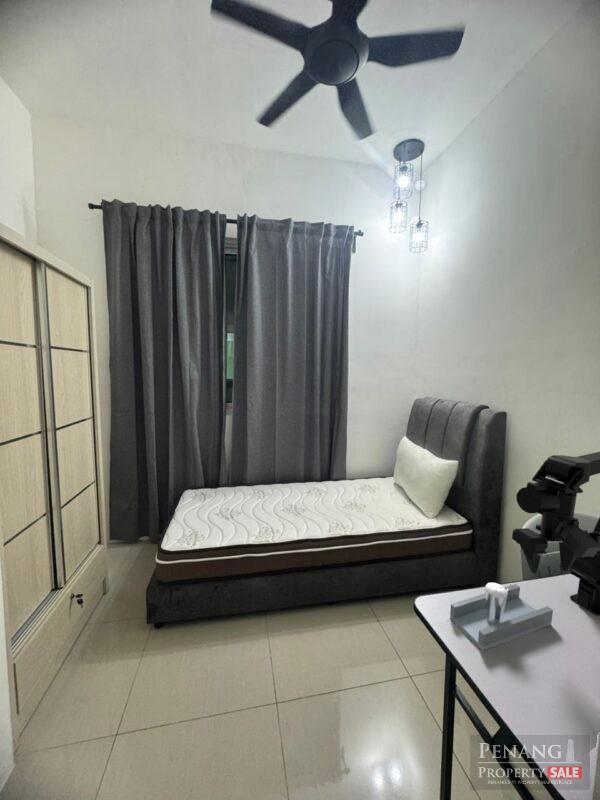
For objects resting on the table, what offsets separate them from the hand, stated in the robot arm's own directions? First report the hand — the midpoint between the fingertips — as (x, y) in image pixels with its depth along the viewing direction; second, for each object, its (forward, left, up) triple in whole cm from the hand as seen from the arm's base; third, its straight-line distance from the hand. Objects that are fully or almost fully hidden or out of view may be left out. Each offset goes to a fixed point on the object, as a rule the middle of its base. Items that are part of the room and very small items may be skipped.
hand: (549, 571), depth 77 cm
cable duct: (+11, -3, -13) cm, 17 cm away
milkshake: (+12, -3, -12) cm, 18 cm away
